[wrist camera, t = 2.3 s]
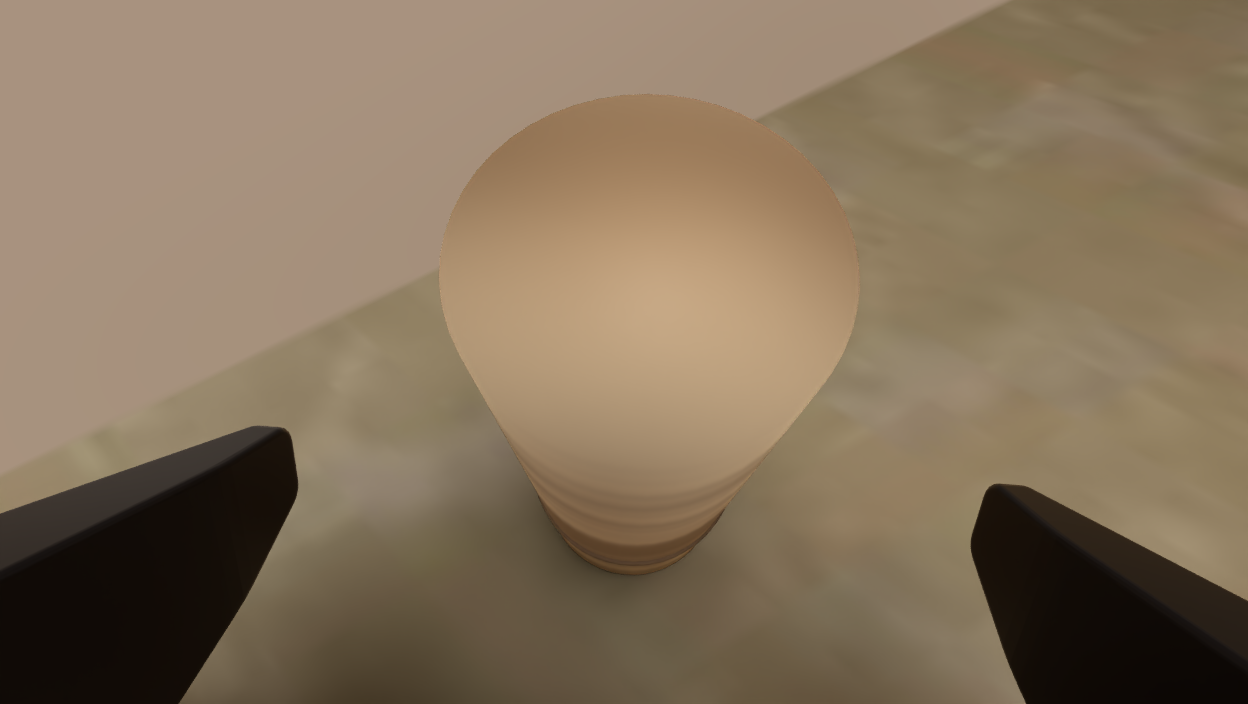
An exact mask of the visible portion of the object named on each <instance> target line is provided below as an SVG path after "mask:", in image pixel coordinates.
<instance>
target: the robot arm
mask: <svg viewBox="0 0 1248 704" xmlns="http://www.w3.org/2000/svg"><path fill="white" fill-rule="evenodd" d="M297 492H298V477H297V470H296V464H295V457H294V450H293V443H292V439H291V436H290V434H289V432H288V431H287V430H286V429H284V428H281V427H269V426H251V427H248V428H245V429H243V430H240V431H237V432H234V433H231V434H228V435H225V436H222V437H220V438H217V439H214V440H211V441H208V442H205V443H202V444H199V445H197V446H194V447H191V448H188V449H185V450H182V451H179V452H176V453H173V454H171V455H168V456H165V457H162V458H159V459H156V460H153V461H150V462H148V463H145V464H142V465H139V466H136V467H133V468H130V469H127V470H125V471H122V472H119V473H116V474H113V475H110V476H107V477H104V478H101V479H99V480H96V481H93V482H90V483H87V484H84V485H81V486H78V487H76V488H73V489H70V490H67V491H64V492H61V493H58V494H55V495H53V496H50V497H47V498H44V499H41V500H38V501H35V502H32V503H29V504H27V505H24V506H21V507H18V508H15V509H12V510H9V511H6V512H4V513H1V514H0V704H179V702H180V701H181V699H182V698H183V696H184V695H185V693H186V691H187V690H188V688H189V687H190V685H191V684H192V682H193V681H194V679H195V677H196V676H197V674H198V673H199V671H200V670H201V668H202V667H203V665H204V663H205V662H206V660H207V659H208V657H209V656H210V654H211V653H212V651H213V649H214V648H215V646H216V645H217V643H218V642H219V640H220V639H221V637H222V635H223V634H224V632H225V631H226V629H227V628H228V626H229V625H230V623H231V621H232V620H233V618H234V617H235V615H236V613H237V612H238V610H239V608H240V607H241V605H242V604H243V602H244V600H245V598H246V597H247V595H248V593H249V591H250V589H251V587H252V586H253V584H254V582H255V580H256V578H257V576H258V574H259V572H260V570H261V568H262V566H263V564H264V562H265V560H266V558H267V556H268V554H269V552H270V550H271V548H272V546H273V544H274V542H275V540H276V538H277V536H278V534H279V532H280V530H281V528H282V526H283V524H284V522H285V520H286V518H287V516H288V514H289V512H290V510H291V508H292V506H293V504H294V502H295V499H296V496H297ZM971 553H972V558H973V561H974V564H975V567H976V570H977V573H978V576H979V579H980V582H981V585H982V588H983V591H984V594H985V597H986V600H987V603H988V606H989V608H990V611H991V614H992V617H993V620H994V623H995V626H996V629H997V632H998V635H999V638H1000V641H1001V644H1002V647H1003V650H1004V653H1005V655H1006V658H1007V661H1008V663H1009V666H1010V668H1011V671H1012V673H1013V675H1014V678H1015V680H1016V682H1017V685H1018V687H1019V689H1020V691H1021V693H1022V696H1023V698H1024V700H1025V702H1026V704H1248V601H1247V600H1245V599H1243V598H1241V597H1239V596H1237V595H1235V594H1233V593H1231V592H1229V591H1228V590H1226V589H1224V588H1222V587H1220V586H1218V585H1216V584H1214V583H1212V582H1210V581H1208V580H1206V579H1204V578H1203V577H1201V576H1199V575H1197V574H1195V573H1193V572H1191V571H1189V570H1187V569H1185V568H1183V567H1181V566H1179V565H1177V564H1176V563H1174V562H1172V561H1170V560H1168V559H1166V558H1164V557H1162V556H1160V555H1158V554H1156V553H1154V552H1152V551H1150V550H1149V549H1147V548H1145V547H1143V546H1141V545H1139V544H1137V543H1135V542H1133V541H1131V540H1129V539H1127V538H1125V537H1124V536H1122V535H1120V534H1118V533H1116V532H1114V531H1112V530H1110V529H1108V528H1106V527H1104V526H1102V525H1100V524H1098V523H1097V522H1095V521H1093V520H1091V519H1089V518H1087V517H1085V516H1083V515H1081V514H1079V513H1077V512H1075V511H1073V510H1071V509H1070V508H1068V507H1066V506H1064V505H1062V504H1060V503H1058V502H1056V501H1054V500H1052V499H1050V498H1048V497H1046V496H1045V495H1043V494H1041V493H1039V492H1037V491H1035V490H1033V489H1031V488H1029V487H1026V486H1022V485H1010V484H993V485H992V486H990V487H989V488H988V489H987V490H986V492H985V495H984V497H983V501H982V504H981V507H980V510H979V513H978V517H977V520H976V523H975V526H974V529H973V533H972V537H971Z"/></svg>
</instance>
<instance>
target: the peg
mask: <svg viewBox="0 0 1248 704" xmlns="http://www.w3.org/2000/svg"><path fill="white" fill-rule="evenodd" d="M439 285H440V294H441V303H442V308H443V312H444V316H445V320H446V323H447V327H448V330H449V333H450V335H451V337H452V340H453V342H454V344H455V346H456V349H457V351H458V353H459V355H460V357H461V359H462V360H463V362H464V364H465V366H466V368H467V369H468V371H469V373H470V375H471V376H472V378H473V380H474V382H475V384H476V385H477V387H478V389H479V391H480V392H481V394H482V396H483V398H484V399H485V401H486V403H487V405H488V407H489V408H490V410H491V412H492V414H493V415H494V417H495V419H496V421H497V422H498V424H499V426H500V428H501V430H502V431H503V433H504V435H505V437H506V438H507V440H508V442H509V444H510V445H511V447H512V449H513V451H514V453H515V454H516V456H517V458H518V460H519V461H520V463H521V465H522V467H523V469H524V470H525V472H526V474H527V476H528V477H529V479H530V481H531V483H532V484H533V486H534V488H535V490H536V492H537V493H538V497H539V499H540V502H541V504H542V506H543V508H544V510H545V512H546V514H547V515H548V517H549V519H550V520H551V522H552V524H553V525H554V526H555V527H556V529H557V530H558V531H559V532H560V534H561V535H562V537H563V539H564V540H565V541H566V543H567V544H568V545H569V546H570V547H571V549H572V550H573V551H575V552H576V553H577V554H578V555H579V556H580V557H581V558H583V559H584V560H586V561H587V562H589V563H590V564H592V565H594V566H596V567H598V568H600V569H603V570H606V571H609V572H613V573H618V574H626V575H638V574H647V573H651V572H655V571H658V570H661V569H664V568H666V567H668V566H670V565H672V564H674V563H676V562H677V561H678V560H680V559H681V558H683V557H684V556H685V555H686V554H687V553H688V552H690V551H691V550H692V549H693V547H694V546H695V545H696V544H697V543H698V542H699V541H700V540H702V539H703V538H704V537H705V536H706V535H707V534H708V532H709V531H710V530H711V529H712V528H713V526H714V525H715V524H716V523H717V521H718V520H719V518H720V516H721V515H722V513H723V511H724V509H725V507H726V506H727V505H728V504H729V502H730V501H731V500H732V499H733V497H734V496H735V495H736V494H737V492H738V491H739V490H740V489H741V487H742V486H743V485H744V484H745V482H746V481H747V480H748V479H749V477H750V476H751V475H752V473H753V472H754V471H755V470H756V468H757V467H758V466H759V465H760V463H761V462H762V461H763V460H764V458H765V457H766V456H767V455H768V453H769V452H770V451H771V450H772V448H773V447H774V446H775V445H776V443H777V442H778V441H779V440H780V438H781V437H782V436H783V435H784V433H785V432H786V431H787V429H788V428H789V427H790V426H791V424H792V423H793V422H794V421H795V419H796V418H797V417H798V416H799V414H800V413H801V412H802V411H803V409H804V408H805V407H806V406H807V404H808V403H809V402H810V401H811V399H812V398H813V397H814V396H815V394H816V393H817V392H818V391H819V389H820V388H821V387H822V386H823V384H824V383H825V382H826V380H827V379H828V378H829V377H830V375H831V373H832V372H833V370H834V368H835V367H836V365H837V363H838V362H839V360H840V358H841V356H842V355H843V353H844V350H845V348H846V345H847V343H848V340H849V338H850V335H851V333H852V330H853V326H854V321H855V317H856V313H857V308H858V300H859V287H860V277H859V263H858V255H857V251H856V246H855V242H854V237H853V233H852V231H851V228H850V226H849V223H848V220H847V218H846V215H845V212H844V210H843V209H842V207H841V205H840V203H839V201H838V199H837V198H836V196H835V194H834V192H833V190H832V189H831V188H830V186H829V185H828V184H827V182H826V181H825V180H824V178H823V177H822V175H821V174H820V173H819V171H818V170H817V169H816V168H815V167H814V166H813V165H812V164H811V163H810V162H809V161H808V160H807V159H806V158H805V157H804V155H803V154H802V153H800V152H799V151H798V150H797V149H796V148H794V147H793V146H792V145H791V144H790V143H788V142H787V141H786V140H785V139H783V138H782V137H780V136H779V135H777V134H776V133H774V132H773V131H771V130H770V129H768V128H767V127H765V126H764V125H762V124H760V123H758V122H756V121H754V120H752V119H750V118H748V117H746V116H744V115H742V114H740V113H737V112H734V111H732V110H729V109H727V108H724V107H721V106H718V105H715V104H711V103H707V102H703V101H700V100H696V99H690V98H684V97H677V96H671V95H652V94H642V95H621V96H615V97H608V98H602V99H596V100H593V101H589V102H585V103H581V104H577V105H574V106H571V107H568V108H566V109H563V110H560V111H558V112H555V113H553V114H550V115H548V116H547V117H545V118H543V119H541V120H539V121H537V122H535V123H533V124H531V125H529V126H528V127H526V128H525V129H523V130H522V131H520V132H519V133H517V134H516V135H514V136H513V137H511V138H510V139H509V140H508V141H507V142H505V143H504V144H503V145H502V146H501V147H499V148H498V149H497V150H496V151H495V152H494V153H492V155H491V156H490V157H489V158H488V159H487V160H486V161H485V162H484V163H483V164H482V166H481V167H480V168H479V169H478V170H477V171H476V172H475V174H474V175H473V177H472V178H471V180H470V181H469V182H468V184H467V185H466V187H465V188H464V190H463V191H462V193H461V195H460V197H459V199H458V201H457V203H456V205H455V207H454V209H453V211H452V213H451V216H450V219H449V222H448V225H447V228H446V231H445V234H444V239H443V244H442V250H441V255H440V270H439Z"/></svg>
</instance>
